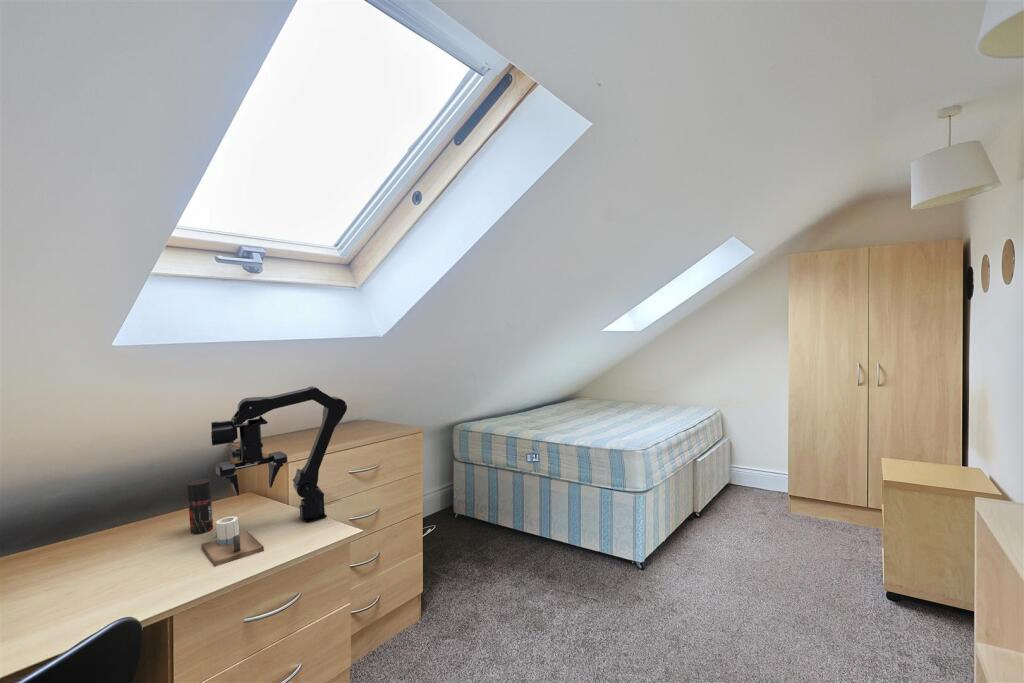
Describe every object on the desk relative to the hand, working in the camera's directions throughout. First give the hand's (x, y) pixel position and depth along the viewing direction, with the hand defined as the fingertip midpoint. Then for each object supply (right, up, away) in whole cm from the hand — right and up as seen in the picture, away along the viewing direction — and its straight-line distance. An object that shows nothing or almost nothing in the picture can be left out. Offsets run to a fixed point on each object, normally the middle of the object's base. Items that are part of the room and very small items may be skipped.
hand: (254, 491), depth 157 cm
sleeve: (-3, -11, -9) cm, 15 cm away
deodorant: (-17, -13, +2) cm, 21 cm away
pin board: (0, -13, -12) cm, 17 cm away
